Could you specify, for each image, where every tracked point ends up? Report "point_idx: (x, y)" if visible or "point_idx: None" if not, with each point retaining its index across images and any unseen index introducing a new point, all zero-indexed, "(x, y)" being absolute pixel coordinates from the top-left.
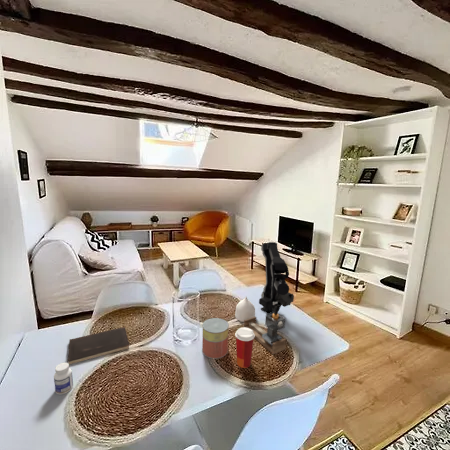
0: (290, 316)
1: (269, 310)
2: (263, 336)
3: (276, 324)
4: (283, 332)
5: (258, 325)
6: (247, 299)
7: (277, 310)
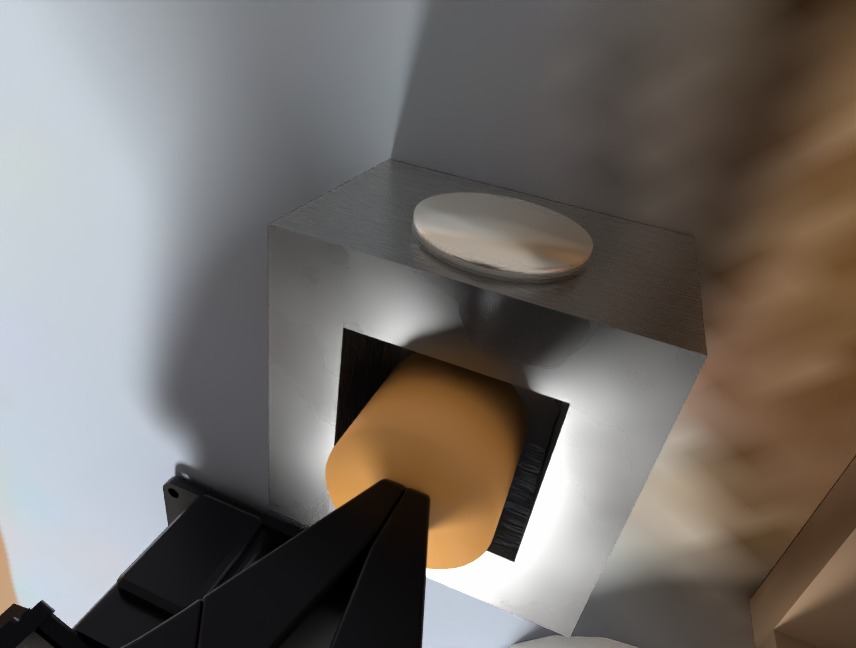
0: (80, 271)
1: (257, 558)
2: None
3: (633, 288)
4: (571, 60)
5: (831, 574)
6: None
7: (314, 608)
